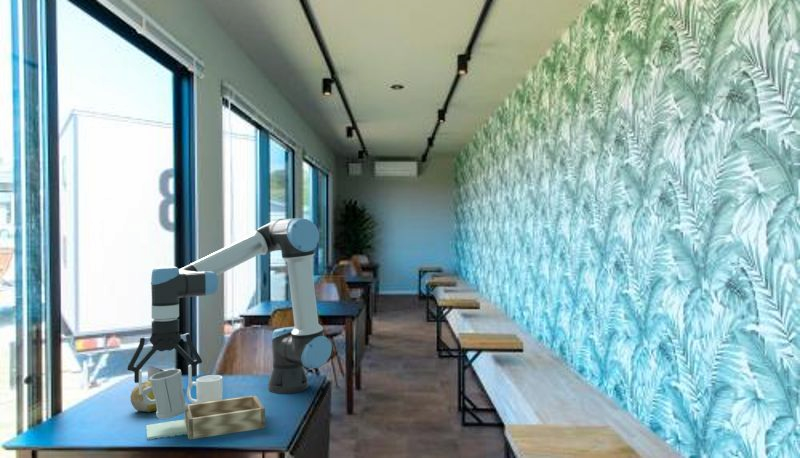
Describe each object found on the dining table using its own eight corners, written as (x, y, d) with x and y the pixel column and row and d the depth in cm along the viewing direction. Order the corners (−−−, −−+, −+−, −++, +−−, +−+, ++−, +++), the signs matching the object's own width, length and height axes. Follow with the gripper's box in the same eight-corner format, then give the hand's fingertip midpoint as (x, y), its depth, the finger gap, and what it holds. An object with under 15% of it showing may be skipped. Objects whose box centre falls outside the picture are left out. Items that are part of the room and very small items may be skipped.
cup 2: (216, 412, 180) (216, 381, 180) (181, 412, 181) (181, 381, 181) (226, 404, 188) (226, 375, 188) (192, 404, 189) (192, 374, 189)
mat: (185, 423, 171) (185, 419, 171) (188, 435, 161) (188, 430, 161) (146, 429, 166) (146, 425, 166) (146, 441, 156) (146, 437, 156)
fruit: (146, 405, 188) (146, 376, 188) (171, 408, 185) (171, 378, 185) (122, 415, 179) (121, 384, 179) (148, 418, 175) (148, 387, 175)
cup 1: (163, 423, 156) (155, 382, 156) (145, 420, 161) (137, 381, 160) (194, 407, 165) (187, 369, 164) (175, 405, 170) (168, 368, 169)
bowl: (180, 395, 207) (187, 383, 209) (161, 382, 197) (168, 370, 199) (154, 387, 211) (161, 376, 214) (134, 374, 201) (142, 362, 204)
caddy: (255, 413, 179) (255, 395, 179) (265, 428, 165) (264, 408, 165) (184, 424, 169) (184, 405, 169) (188, 441, 156) (188, 419, 156)
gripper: (208, 314, 172) (208, 382, 172) (118, 320, 161) (118, 392, 161) (211, 317, 165) (211, 388, 165) (117, 324, 154) (118, 399, 154)
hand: (165, 390), depth 163 cm, fingers open, 13 cm apart
